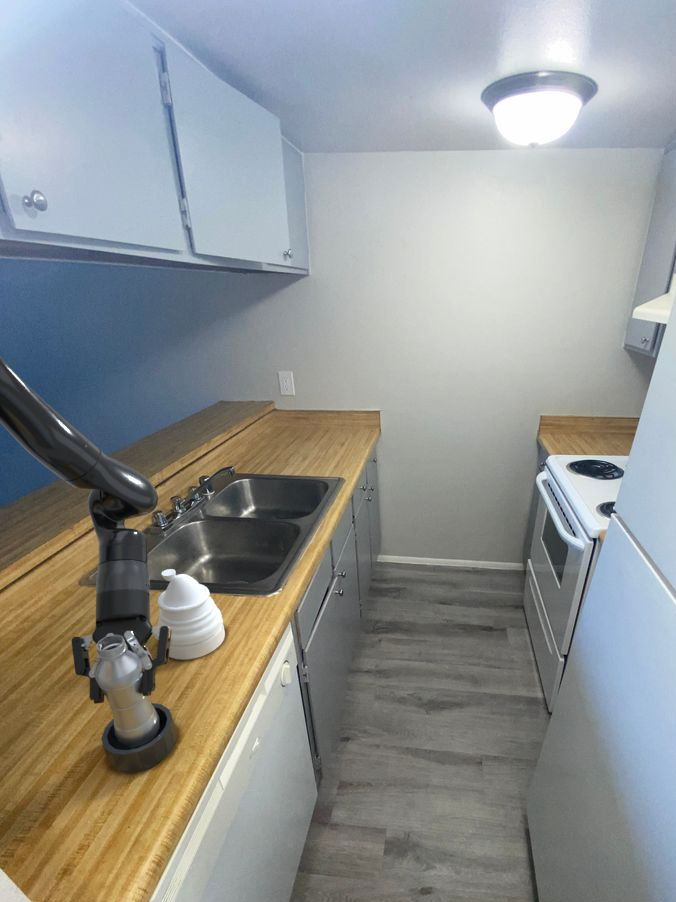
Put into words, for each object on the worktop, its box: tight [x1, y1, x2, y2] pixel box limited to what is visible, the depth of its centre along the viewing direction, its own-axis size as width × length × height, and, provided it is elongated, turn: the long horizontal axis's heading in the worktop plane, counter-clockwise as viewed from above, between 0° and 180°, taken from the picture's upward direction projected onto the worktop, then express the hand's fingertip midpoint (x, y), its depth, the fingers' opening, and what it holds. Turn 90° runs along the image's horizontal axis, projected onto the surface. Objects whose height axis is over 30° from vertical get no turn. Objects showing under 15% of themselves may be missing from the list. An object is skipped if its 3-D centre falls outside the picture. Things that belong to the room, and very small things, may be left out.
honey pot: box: [157, 568, 226, 661], centre depth 100 cm, size 13×13×18 cm
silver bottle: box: [95, 635, 159, 747], centre depth 74 cm, size 6×7×20 cm
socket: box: [100, 702, 178, 774], centre depth 79 cm, size 10×10×4 cm
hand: (123, 698), depth 72 cm, fingers closed on silver bottle, 6 cm apart
